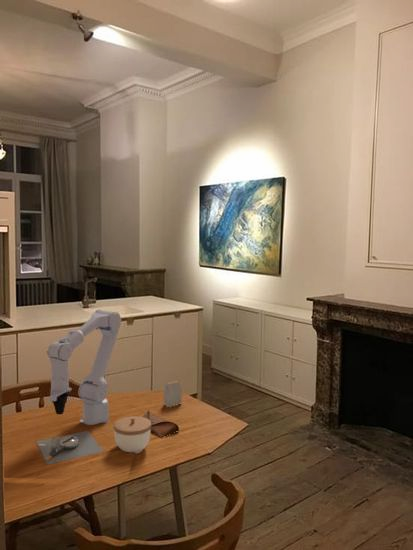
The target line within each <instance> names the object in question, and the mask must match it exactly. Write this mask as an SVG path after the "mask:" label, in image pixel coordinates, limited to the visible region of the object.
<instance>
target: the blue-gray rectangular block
mask: <svg viewBox="0 0 413 550" xmlns="http://www.w3.org/2000/svg"><path fill="white" fill-rule="evenodd" d="M182 393H183V392H182V387H181V383H180V380H176V381H172V382H168V383H166V384H165V389H164V391H163V406H164V405H166V406H168V407H170V406H173V405H176V404H179V403H181V404H182V398H183V397H182V396H183V395H182ZM166 406H165V407H166ZM168 407H167V408H168ZM170 408H171V407H170Z"/></svg>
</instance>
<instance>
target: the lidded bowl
mask: <svg viewBox="0 0 413 550" xmlns="http://www.w3.org/2000/svg"><path fill="white" fill-rule="evenodd" d="M113 429H114V430H113V434H114V440H115V444H116V445H117V447H118V448H119V449H120V450H121V451H122V452H127V453H134V454H135V455H136V454H140V453H141V452H143V450H144V449H145V448H146V447H147V445H148V444H149V441H150V438H151V433H152V432H151V421H150V420H149V419H147V418H144V417H143V416H135V415H133V416H126V417H122V418H119V419H117V420H116V421H115V422H114V424H113Z"/></svg>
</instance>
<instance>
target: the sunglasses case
mask: <svg viewBox="0 0 413 550" xmlns="http://www.w3.org/2000/svg"><path fill="white" fill-rule="evenodd" d="M142 417H144V418H147V419H149V420H150V421H151V433H152V434H154V435H156V436H157V435H158V437H159V438H160V439H164V438H165V437H164V436H166V437H168V436H167V435H169V434H172V433H174V432H176V431H178V432H179V431H180V428H179V425H178V424H176V423H175V422H173V421H169V420H168V419H167V418H166V419H165V418H164V417H162V416H159V415H157V414H156V413H153V412H151V411H149V410H147V412H146V413H145V414H143V415H142ZM174 434H175V433H174ZM172 435H173V434H172ZM169 436H170V435H169ZM163 437H164V438H163Z"/></svg>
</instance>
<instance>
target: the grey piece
mask: <svg viewBox="0 0 413 550" xmlns="http://www.w3.org/2000/svg"><path fill="white" fill-rule="evenodd" d="M50 438H51V451H50V452H49V453H50V455H51V456H55V455H57V454H58V453H60V452H62V451H63V450H69V449H74V448H76V447H77V446H78V437H76V436H66V437H63V438H61V439H60V446H59V447H57V438H55V437H50Z"/></svg>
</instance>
